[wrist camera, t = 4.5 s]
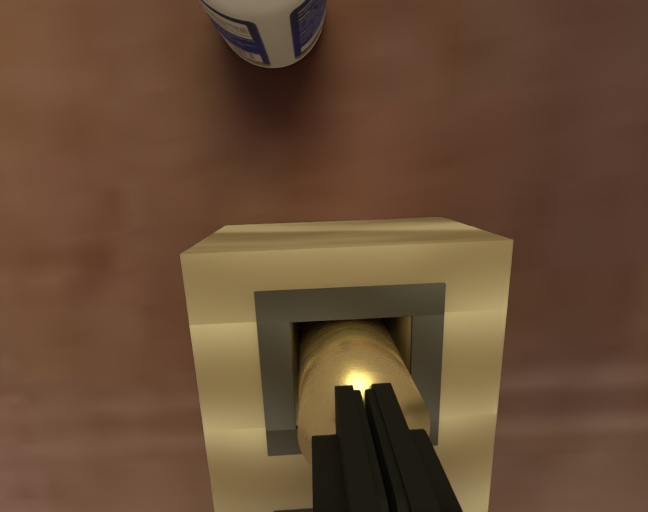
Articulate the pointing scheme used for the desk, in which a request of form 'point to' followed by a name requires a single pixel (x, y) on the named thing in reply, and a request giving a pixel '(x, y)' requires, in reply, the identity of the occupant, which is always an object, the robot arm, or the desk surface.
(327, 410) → the brass peg
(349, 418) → the robot arm
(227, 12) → the pill bottle
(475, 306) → the maple block
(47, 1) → the desk surface
